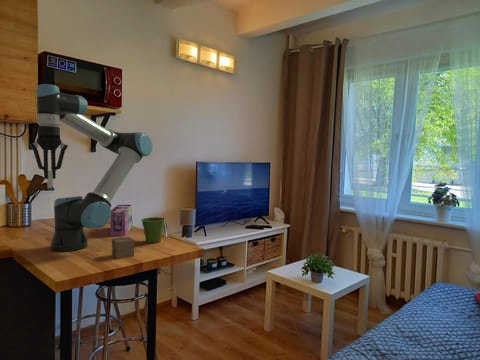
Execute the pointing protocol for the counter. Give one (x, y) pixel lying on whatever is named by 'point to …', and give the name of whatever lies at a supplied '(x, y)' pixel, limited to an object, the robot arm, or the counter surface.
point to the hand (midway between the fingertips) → (50, 187)
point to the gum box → (120, 220)
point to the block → (122, 247)
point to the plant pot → (153, 228)
